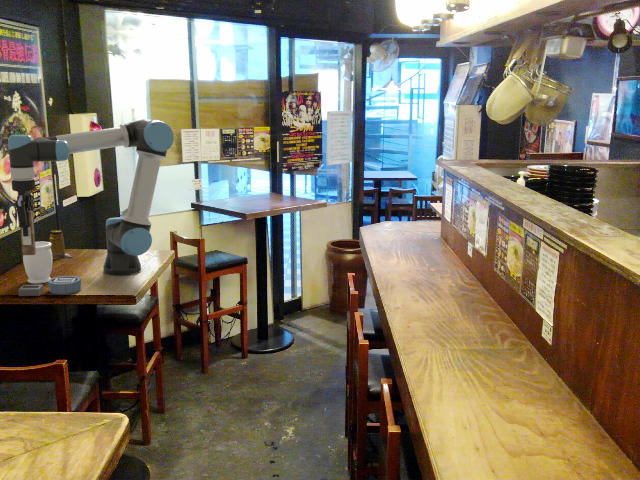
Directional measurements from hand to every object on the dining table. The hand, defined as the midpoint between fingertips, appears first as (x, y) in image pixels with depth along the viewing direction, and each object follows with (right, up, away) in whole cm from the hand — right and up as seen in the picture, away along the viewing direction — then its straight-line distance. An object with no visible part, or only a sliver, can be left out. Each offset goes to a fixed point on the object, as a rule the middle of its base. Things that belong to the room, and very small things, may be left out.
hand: (28, 243), depth 219 cm
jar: (-5, -15, +19) cm, 25 cm away
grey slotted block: (-1, -18, +4) cm, 19 cm away
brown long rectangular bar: (0, -4, +1) cm, 4 cm away
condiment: (-13, -7, +56) cm, 58 cm away
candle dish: (+9, -18, +9) cm, 22 cm away
